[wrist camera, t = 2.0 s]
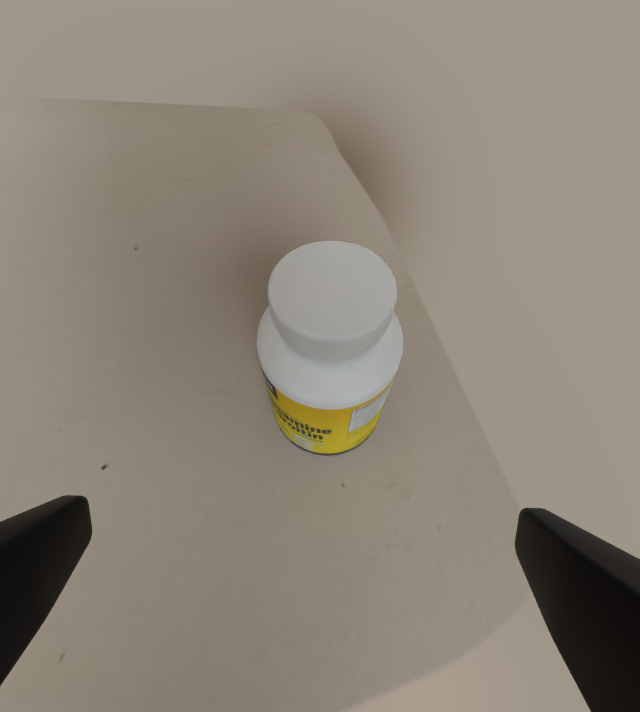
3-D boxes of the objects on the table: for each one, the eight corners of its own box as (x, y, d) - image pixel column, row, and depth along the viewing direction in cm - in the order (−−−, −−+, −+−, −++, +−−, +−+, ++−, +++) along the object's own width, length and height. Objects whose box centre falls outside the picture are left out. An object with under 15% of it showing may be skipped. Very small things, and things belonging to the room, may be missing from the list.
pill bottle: (262, 383, 24) (219, 248, 14) (351, 351, 25) (371, 206, 15) (297, 478, 21) (274, 391, 11) (397, 435, 22) (458, 323, 12)
